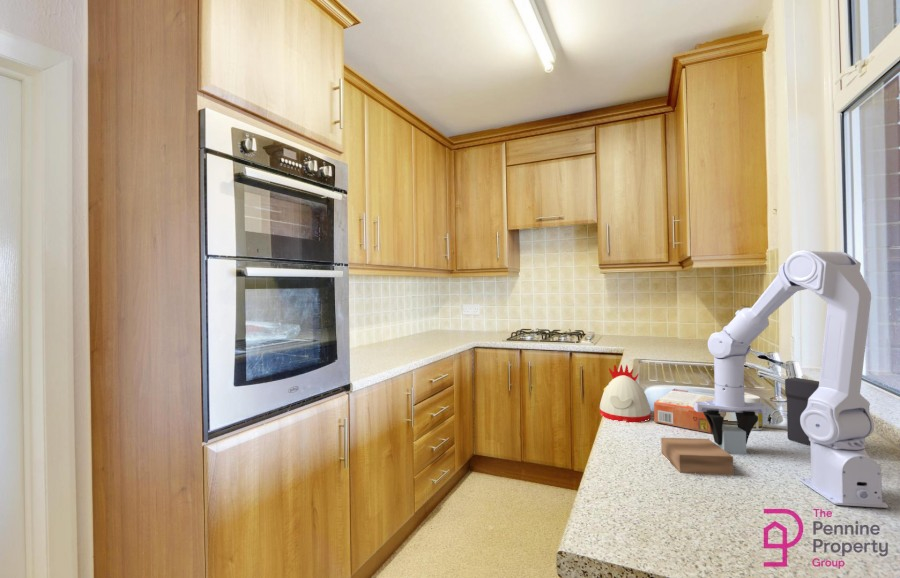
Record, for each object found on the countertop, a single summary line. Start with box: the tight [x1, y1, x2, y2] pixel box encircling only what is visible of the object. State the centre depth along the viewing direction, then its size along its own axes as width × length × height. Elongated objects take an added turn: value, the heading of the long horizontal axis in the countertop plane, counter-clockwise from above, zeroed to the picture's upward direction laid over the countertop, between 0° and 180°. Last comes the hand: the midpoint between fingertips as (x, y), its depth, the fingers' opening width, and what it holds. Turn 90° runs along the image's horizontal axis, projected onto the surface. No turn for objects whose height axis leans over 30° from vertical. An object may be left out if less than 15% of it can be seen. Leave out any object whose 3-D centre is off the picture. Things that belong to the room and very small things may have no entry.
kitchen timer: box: [599, 364, 652, 423], centre depth 123 cm, size 14×14×15 cm
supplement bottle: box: [744, 394, 764, 431], centre depth 110 cm, size 5×5×8 cm
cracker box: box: [653, 388, 727, 434], centre depth 118 cm, size 14×6×21 cm
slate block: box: [714, 424, 747, 455], centre depth 96 cm, size 4×4×5 cm
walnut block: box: [660, 437, 734, 476], centre depth 88 cm, size 10×10×4 cm
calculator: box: [784, 377, 819, 447], centre depth 97 cm, size 11×4×15 cm, turn 22°
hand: (730, 443), depth 96 cm, fingers closed on slate block, 4 cm apart
